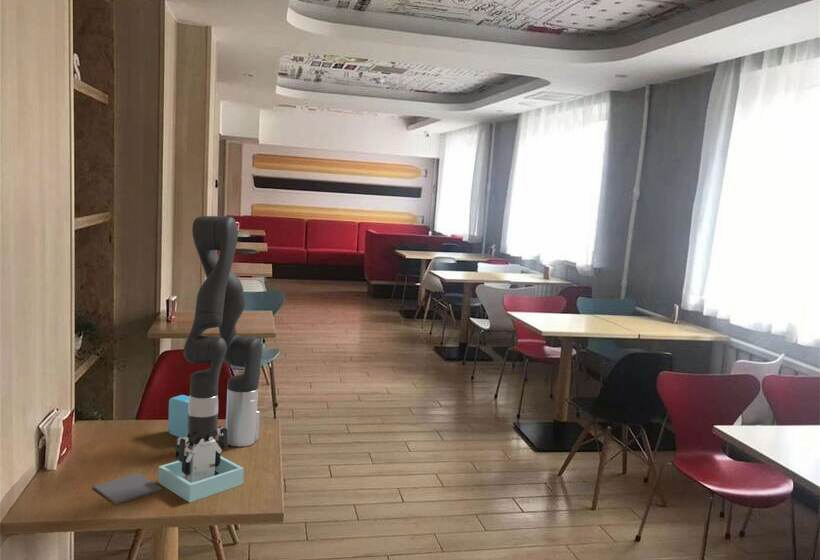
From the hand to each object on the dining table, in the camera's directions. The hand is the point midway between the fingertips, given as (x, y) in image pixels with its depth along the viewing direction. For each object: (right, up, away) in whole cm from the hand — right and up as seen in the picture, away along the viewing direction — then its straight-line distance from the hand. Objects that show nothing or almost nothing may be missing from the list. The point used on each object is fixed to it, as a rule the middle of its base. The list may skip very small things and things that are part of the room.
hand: (201, 470), depth 175 cm
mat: (-17, -3, -6) cm, 18 cm away
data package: (-15, +1, +32) cm, 35 cm away
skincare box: (0, -4, +1) cm, 4 cm away
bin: (0, -4, +1) cm, 4 cm away
